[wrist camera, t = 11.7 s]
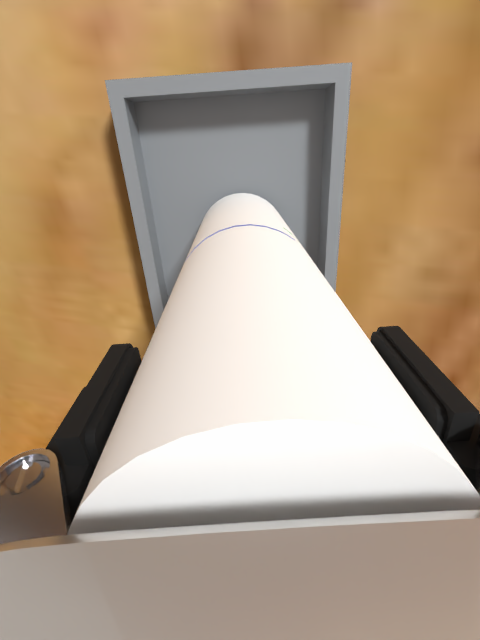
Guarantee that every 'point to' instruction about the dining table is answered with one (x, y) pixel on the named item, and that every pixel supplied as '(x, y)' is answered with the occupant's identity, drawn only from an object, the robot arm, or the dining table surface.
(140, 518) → the cylindrical container
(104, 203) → the dining table surface
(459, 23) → the dining table surface
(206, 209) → the tray
